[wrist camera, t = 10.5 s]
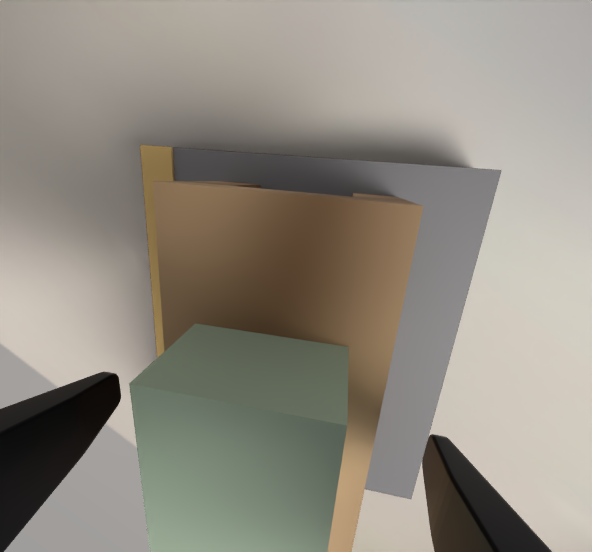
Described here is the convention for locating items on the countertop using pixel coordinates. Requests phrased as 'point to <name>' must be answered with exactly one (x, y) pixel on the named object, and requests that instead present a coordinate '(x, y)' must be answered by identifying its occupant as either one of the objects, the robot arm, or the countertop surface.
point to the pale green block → (241, 441)
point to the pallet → (294, 287)
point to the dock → (421, 283)
